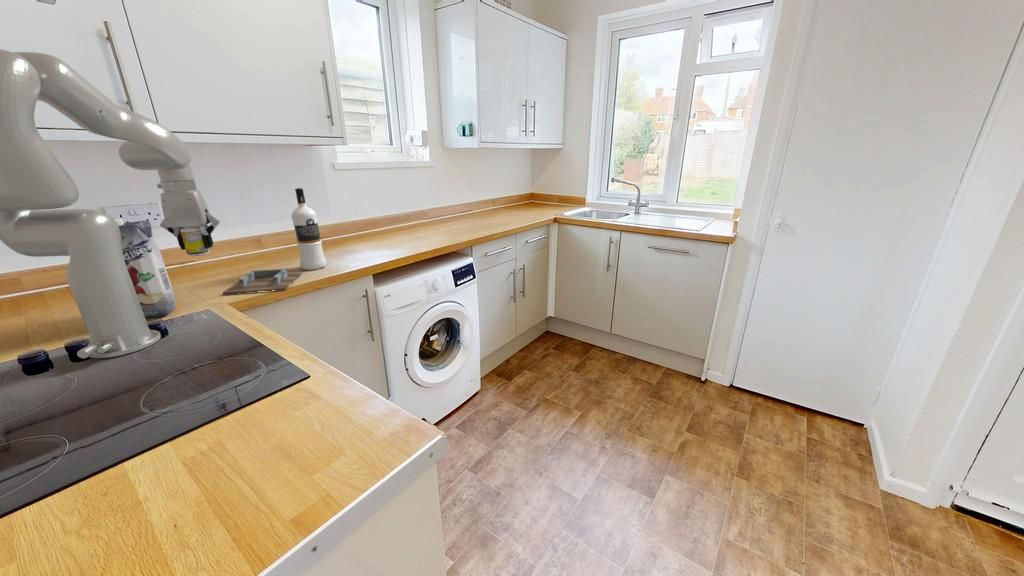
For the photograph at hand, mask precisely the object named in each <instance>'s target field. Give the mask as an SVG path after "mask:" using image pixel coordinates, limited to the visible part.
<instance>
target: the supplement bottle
mask: <svg viewBox="0 0 1024 576" xmlns="http://www.w3.org/2000/svg"><path fill="white" fill-rule="evenodd" d="M180 232H181V236H182V239H183V242H184V245H185V248H186V249H185V251H186V255H187V256H189V257H200V256H205V255H207V254H210V253H211V250H210V248H205V246H204V242H203V239H202V236H203V233H202V231H201V230H200V228H199V227H183V228H181V229H180Z"/></svg>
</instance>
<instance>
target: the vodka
mask: <svg viewBox="0 0 1024 576" xmlns="http://www.w3.org/2000/svg"><path fill="white" fill-rule="evenodd" d="M294 191H295V194H296V200H297V206H298V207H297V208H295V209H294V210H293V211H292V212H291V215H290V216H291V220H292V224H293V227H294V232H295V235H296V241H297V247H298V252H299V261H300V262H299V266H300V268H301V269H302V270H304V269H305V270H304V271H314V269H317V270H321V269H323V267H324V268H325V267H326V266H327V265H328V262H327V259H326V257H325V255H324V254H325V253H324V249H323V245H322V240H321V233H320V230H319V224H318V223H319V222H318V216H317V215H318V214H317V212H316V211H315V210H314V209H312V208H311V207H308V206H307V203H306V198H305V195H304V194H305V193H304V189H303V188H300V187H297V188H295V189H294ZM320 268H321V269H320Z"/></svg>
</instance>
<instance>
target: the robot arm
mask: <svg viewBox="0 0 1024 576" xmlns="http://www.w3.org/2000/svg"><path fill="white" fill-rule="evenodd" d="M39 101H40V102H43V103H46V104H47V105H48V106H51V108H53V109H54V110H56V111H58V112H59V113H60V114H62V115H63V116H64V117H66V118H67V119H69V120H70V121H72V122H74V123H75V124H76V125H77V126H79V127H80V128H82V129H83V130H85V131H87V132H89V133H92V134H94V135H98V136H101V137H104V138H110V139H114V140H118V141H119V140H120V141H124V142H123V143H122V144H121V145H120V146H119V147H118V157H119V158H120V160H121V161H122V163H124V164H125V165H126V166H128V167H129V168H132V169H134V170H139V171H157V173H158V176H159V180H160V181H159V182H160V183H157V184H156V186H157V187H156V188H158V189H162V191H163V192H161V193H160V204H161V210H162V213H163V219H162V220H161V222H160V224H159V226H160V227H161V228H162V229H165V230H166V231H168V232H169V233H171V234H172V235H173V236H174V237H175V238H176V239H177V242H178V246H179V247H180V249H181V250H182V251H184V250H185V251H186V248H185V245H184V242H183V239H182V236H181V232H180V229H181V228H183V227H199V228H200V230H201V231H202V233H203V236H202V239H203V242H204V246H205V248H209V249H210V248H212V247H214V246H213V245H214V241H213V237H212V233H213V231H214V230H216V228H217V226H218V225H219V224H220V223H221V222H220V220H219V219H217V218H216V217H214V215H212V214H211V213H210V211H209V208H208V205H207V203H206V200H205V198H204V196H203V194H202V192H201V191H200V190H198V189H197V186H196V181H195V178H194V174H193V170H192V166H191V164H190V163H191V161H192V158H191V154H190V151H189V149H188V147H187V146H186V145H185V143H184V142H183V141H182V140H181V139H180V138H179V137H178V136H177V135H176V134H174V133H173V132H172V131H171V130H170V129H168V127H166V126H164V125H162V124H161V123H159V122H157V121H155V120H153V119H152V118H148V117H146V116H144V115H141V114H139V113H137V112H134V111H132V110H130V109H127V108H124V107H122V106H119V105H118V104H116V103H115V102H113V101H112V100H111V99H110V98H109V97H107V95H105V94H104V93H103V92H101V91H100V90H99V89H98V88H96V87H95V86H94V85H93V84H91V82H89V81H88V79H85V77H83V76H82V75H81V74H80V73H78V72H77V71H76V70H75V69H73V68H72V67H71V66H70V65H69V64H67V63H66V62H64V61H63V60H62V59H60V58H58V57H56V56H54V55H50V54H48V53H43V52H30V51H28V52H27V51H25V52H24V51H21V52H20V51H9V50H5V49H0V241H1V242H2V243H3V244H4V245H5V246H6V247H8V248H9V249H10V250H12V251H14V252H15V253H16V254H17V253H18V254H19V255H22V256H27V257H32V258H33V257H35V258H36V257H37V258H38V257H39V258H41V257H44V258H45V257H62V256H63V257H64V256H65V257H69V261H68V264H67V268H66V271H65V279H66V282H67V285H68V287H69V289H70V292H71V294H72V297H73V299H74V300H75V304H76V306H77V307H78V311H79V314H80V315H81V318H82V321H83V323H84V325H85V327H86V330H87V332H88V334H89V336H90V337H88V338H87V341H88V344H87V346H85V347H83V348H81V349H79V350H78V351H76V352H77V353H76V355H77V357H79V358H80V359H86V358H91V359H108V358H109V359H110V358H115V357H120V356H124V355H128V354H132V353H135V352H137V351H140V350H143V349H145V348H149V347H151V346H152V345H154V344H155V343H156V342H158V341H159V340H160V339H161V337H162V336H161V332H160V331H159V330H155V329H150V328H149V324H148V322H147V319H145V316H144V313H143V311H142V308H141V305H140V302H139V300H138V297H137V294H136V291H135V289H134V286H133V283H132V280H131V278H130V275H129V272H128V270H127V267H126V264H125V260H124V256H123V252H122V244H121V233H120V229H119V226H118V224H117V223H116V221H115V220H114V219H115V218H113V217H112V216H110V215H109V214H107V213H105V212H102V211H99V210H95V209H88V208H87V209H86V208H69V209H68V208H67V209H65V208H66V207H70V206H72V205H74V204H75V203H76V202H78V200H79V198H80V189H79V188H78V186H77V184H76V182H75V181H74V179H73V178H72V176H71V175H70V174H69V172H68V171H67V169H66V168H65V167H64V165H63V164H62V163H61V162H60V161H59V159H58V158H57V156H56V155H55V154H54V152H53V151H52V150H51V148H50V147H49V146H48V145H47V143H46V141H45V140H44V139H43V137H42V136H41V134H40V132H39V131H38V128H37V125H36V121H35V111H36V105H37V102H39ZM62 208H64V209H62Z"/></svg>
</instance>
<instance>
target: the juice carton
mask: <svg viewBox="0 0 1024 576" xmlns="http://www.w3.org/2000/svg"><path fill="white" fill-rule="evenodd" d="M113 219H114V220H115V221H116V223H117V224H118V226H119V229H120V233H121V244H122V252H123V256H124V260H125V264H126V267H127V270H128V272H129V275H130V278H131V280H132V283H133V286H134V289H135V291H136V294H137V297H138V300H139V302H140V305H141V308H142V311H143V313H144V316H145V319H146V320H151V319H152V320H153V319H159V318H165V317H167V316H168V315H170V313H172V312H173V311H174V310H175V309H176V306H177V305H176V296H175V293H174V292H175V291H174V289H173V286H172V284H171V280H170V277H169V274H168V272H167V268H166V265H165V262H164V259H163V256H162V254H161V249H160V248H159V245H158V240H157V238H156V236H155V233H154V230H153V228H152V224H151V222H150V220H139V221H131V222H130V221H129V222H124V221H123V219H122V218H113Z"/></svg>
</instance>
